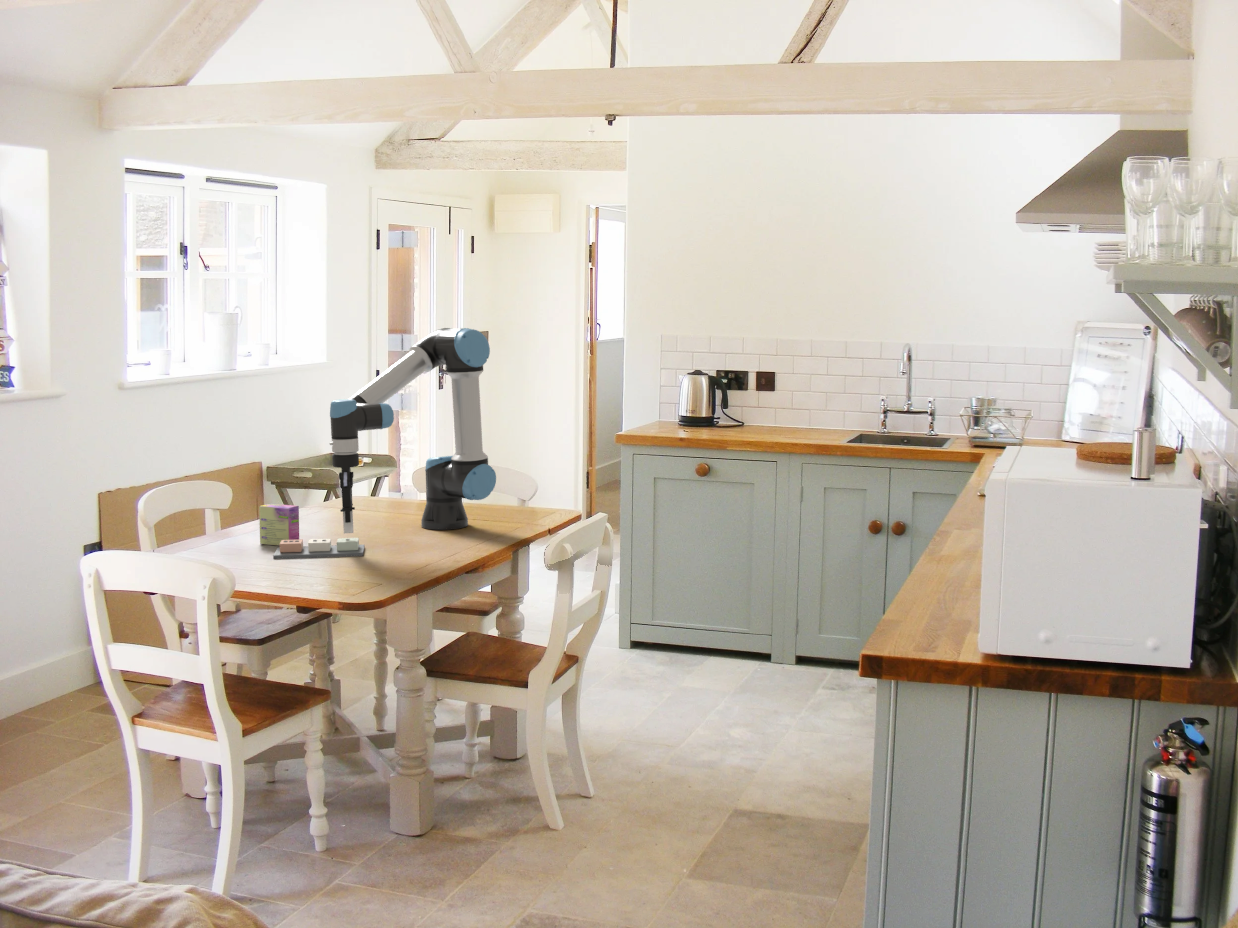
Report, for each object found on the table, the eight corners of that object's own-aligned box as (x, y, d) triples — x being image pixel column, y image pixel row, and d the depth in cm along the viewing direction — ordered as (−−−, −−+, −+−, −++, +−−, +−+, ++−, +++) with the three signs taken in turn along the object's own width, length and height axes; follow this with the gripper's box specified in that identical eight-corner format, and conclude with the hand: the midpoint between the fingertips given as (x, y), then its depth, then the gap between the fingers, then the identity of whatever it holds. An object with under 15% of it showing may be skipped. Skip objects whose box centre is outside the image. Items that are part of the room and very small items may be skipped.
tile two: (331, 546, 352) (330, 537, 352) (329, 550, 347) (329, 541, 346) (310, 547, 351) (309, 538, 351) (308, 551, 346) (308, 542, 345)
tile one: (358, 546, 354) (358, 537, 353) (357, 550, 348) (357, 541, 348) (338, 546, 353) (337, 537, 352) (336, 550, 347) (336, 541, 347)
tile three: (303, 547, 351) (302, 538, 351) (301, 551, 345) (301, 542, 345) (282, 548, 350) (281, 539, 350) (279, 552, 344) (279, 543, 344)
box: (300, 543, 364) (299, 505, 362) (289, 546, 358) (287, 508, 357) (271, 541, 367) (269, 503, 365) (259, 544, 362) (258, 506, 360)
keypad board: (364, 547, 357) (364, 544, 357) (362, 555, 345) (362, 552, 345) (278, 550, 353) (278, 547, 353) (273, 558, 341) (273, 555, 341)
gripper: (333, 450, 352) (336, 528, 356) (330, 456, 340) (334, 537, 343) (359, 449, 354) (362, 527, 357) (357, 455, 341) (360, 536, 344)
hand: (348, 532), depth 350 cm, fingers closed
